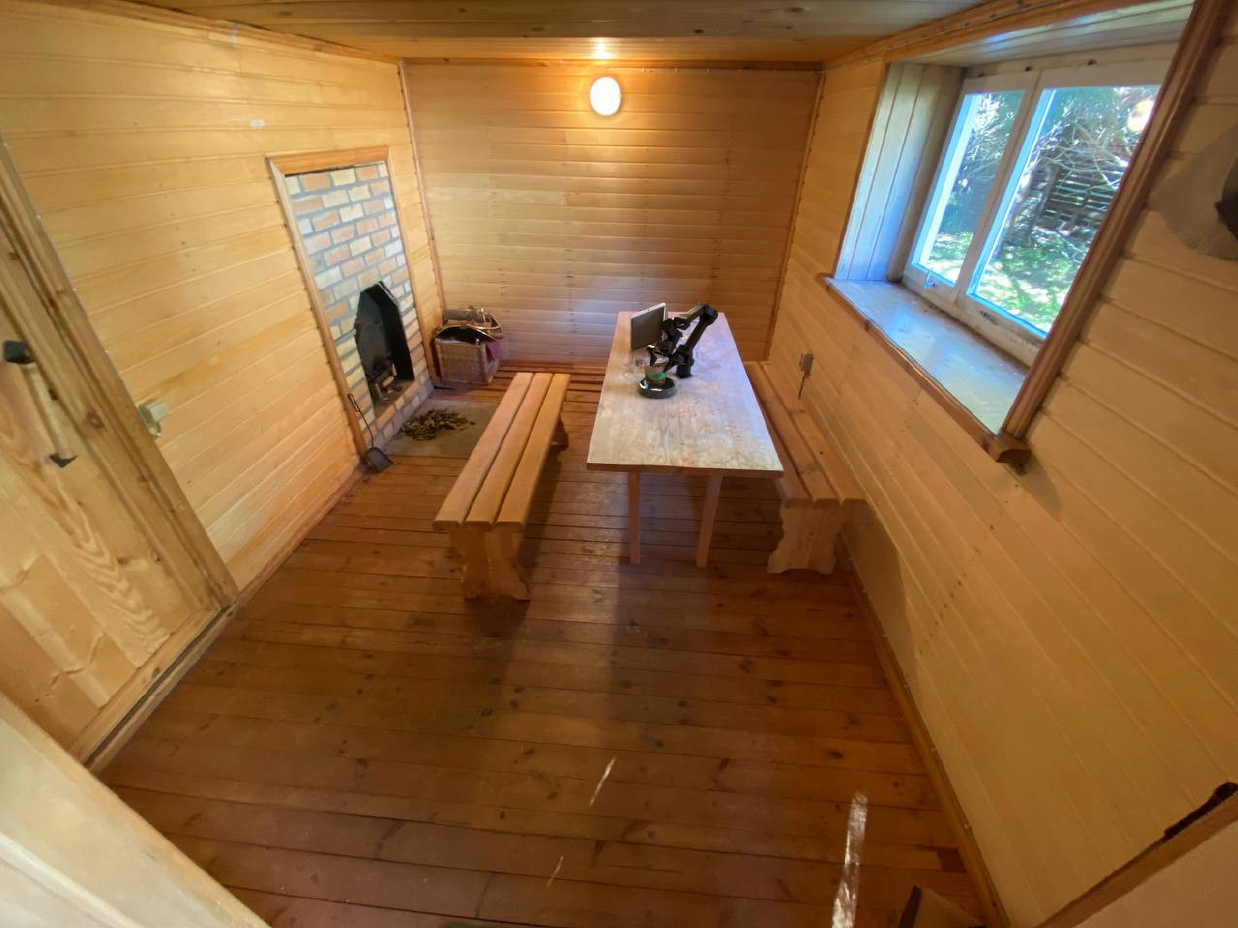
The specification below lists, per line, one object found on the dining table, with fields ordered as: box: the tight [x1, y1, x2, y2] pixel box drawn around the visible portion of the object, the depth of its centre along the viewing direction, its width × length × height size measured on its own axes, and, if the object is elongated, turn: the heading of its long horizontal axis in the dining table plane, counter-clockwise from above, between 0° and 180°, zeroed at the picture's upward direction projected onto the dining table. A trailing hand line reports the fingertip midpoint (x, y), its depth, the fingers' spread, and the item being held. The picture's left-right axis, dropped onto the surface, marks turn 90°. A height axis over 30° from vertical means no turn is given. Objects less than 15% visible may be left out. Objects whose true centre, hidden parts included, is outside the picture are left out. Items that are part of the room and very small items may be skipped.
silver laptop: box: [629, 302, 669, 358], centre depth 282 cm, size 35×22×20 cm, turn 176°
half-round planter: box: [643, 359, 668, 386], centre depth 236 cm, size 12×6×10 cm, turn 111°
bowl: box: [638, 375, 677, 399], centre depth 240 cm, size 17×17×4 cm
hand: (656, 371), depth 235 cm, fingers closed on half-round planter, 7 cm apart
